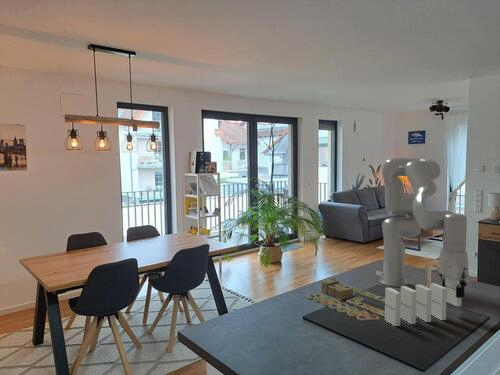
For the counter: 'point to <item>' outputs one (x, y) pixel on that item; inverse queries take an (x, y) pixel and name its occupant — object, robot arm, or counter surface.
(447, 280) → the domino
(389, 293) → the domino
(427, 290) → the domino
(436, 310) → the domino
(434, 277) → the supplement box
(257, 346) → the counter surface
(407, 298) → the domino
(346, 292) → the pile of dominoes
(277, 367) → the counter surface
